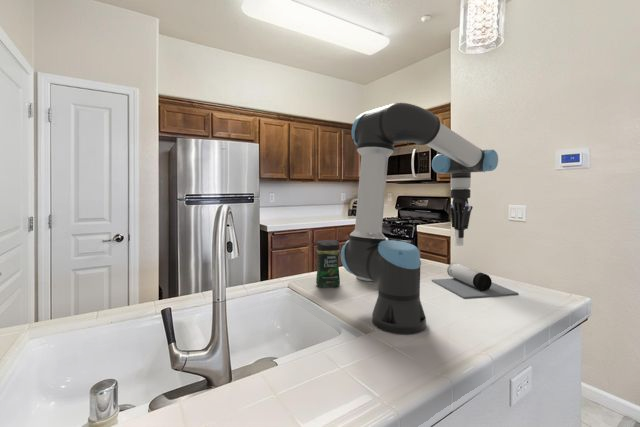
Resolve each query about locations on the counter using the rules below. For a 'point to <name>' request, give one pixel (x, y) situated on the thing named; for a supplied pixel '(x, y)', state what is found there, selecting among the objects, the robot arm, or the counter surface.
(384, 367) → the counter surface
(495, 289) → the mat
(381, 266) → the robot arm
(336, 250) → the coffee jar
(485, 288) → the travel mug
